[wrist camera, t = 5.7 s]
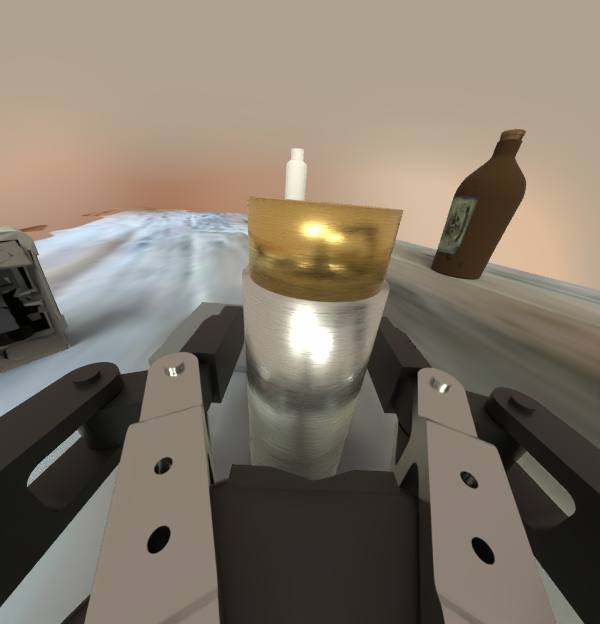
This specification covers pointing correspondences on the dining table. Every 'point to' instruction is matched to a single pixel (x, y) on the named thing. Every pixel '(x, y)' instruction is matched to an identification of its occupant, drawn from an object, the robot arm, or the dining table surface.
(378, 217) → the canister
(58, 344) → the electrical switch
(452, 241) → the olive oil
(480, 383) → the dining table surface
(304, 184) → the bottle
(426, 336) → the dining table surface
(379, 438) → the dining table surface
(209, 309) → the mat
